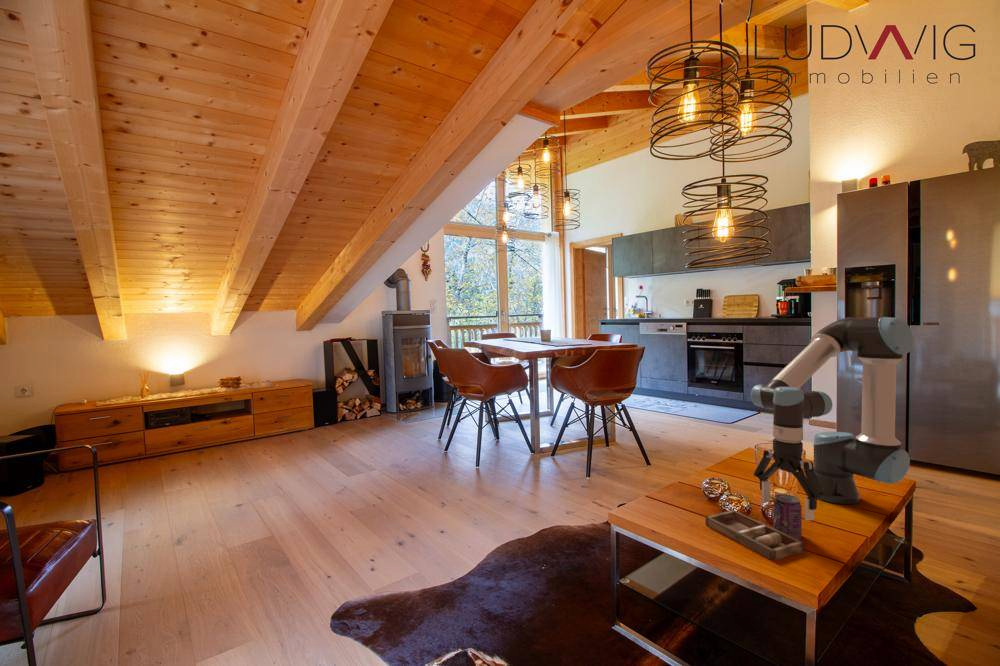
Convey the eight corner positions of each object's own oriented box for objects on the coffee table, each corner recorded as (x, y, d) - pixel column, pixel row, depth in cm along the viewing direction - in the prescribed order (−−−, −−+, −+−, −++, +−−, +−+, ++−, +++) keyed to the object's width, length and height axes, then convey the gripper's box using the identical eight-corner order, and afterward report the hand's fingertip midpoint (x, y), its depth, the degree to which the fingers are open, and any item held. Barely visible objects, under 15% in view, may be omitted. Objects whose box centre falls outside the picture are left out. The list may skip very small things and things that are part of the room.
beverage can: (775, 529, 142) (775, 491, 141) (802, 536, 137) (803, 497, 137) (771, 538, 136) (771, 499, 136) (799, 545, 132) (800, 505, 131)
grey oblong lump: (772, 541, 133) (772, 530, 133) (782, 545, 130) (781, 534, 130) (755, 546, 130) (754, 535, 130) (764, 550, 127) (764, 539, 127)
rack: (733, 520, 148) (733, 510, 148) (803, 554, 127) (804, 542, 127) (705, 527, 144) (705, 516, 144) (773, 564, 122) (773, 551, 122)
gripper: (742, 431, 146) (741, 497, 146) (822, 452, 122) (820, 530, 123) (758, 428, 148) (758, 493, 149) (840, 449, 125) (839, 525, 126)
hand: (786, 510), depth 136 cm, fingers open, 13 cm apart
